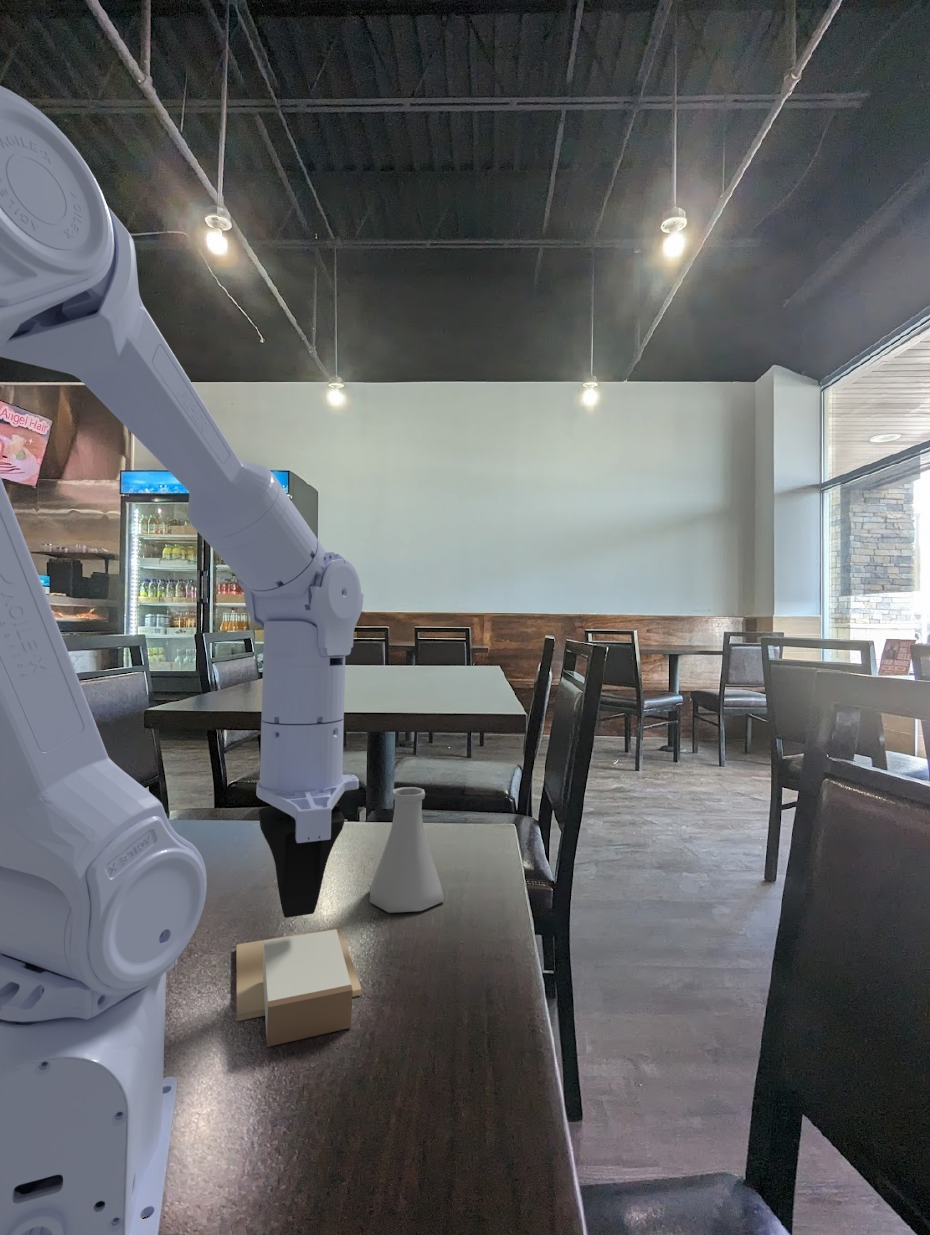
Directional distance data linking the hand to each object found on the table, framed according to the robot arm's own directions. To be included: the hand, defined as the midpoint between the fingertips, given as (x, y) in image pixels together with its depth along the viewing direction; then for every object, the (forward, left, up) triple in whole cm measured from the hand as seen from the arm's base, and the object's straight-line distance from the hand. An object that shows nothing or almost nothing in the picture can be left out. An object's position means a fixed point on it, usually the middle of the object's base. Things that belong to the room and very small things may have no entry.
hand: (298, 911), depth 41 cm
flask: (+11, -11, -5) cm, 16 cm away
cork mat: (+2, 0, -5) cm, 5 cm away
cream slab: (0, 0, -3) cm, 3 cm away
